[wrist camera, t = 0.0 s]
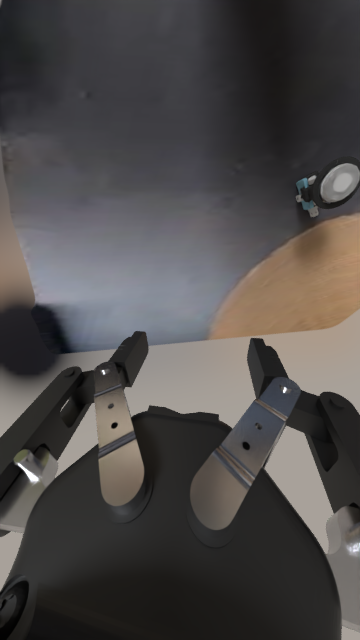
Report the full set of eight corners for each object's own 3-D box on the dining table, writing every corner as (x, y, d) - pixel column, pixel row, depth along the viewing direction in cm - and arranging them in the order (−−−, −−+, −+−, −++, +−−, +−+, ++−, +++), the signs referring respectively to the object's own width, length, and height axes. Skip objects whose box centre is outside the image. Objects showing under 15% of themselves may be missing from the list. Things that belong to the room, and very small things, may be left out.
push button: (328, 206, 30) (373, 201, 22) (295, 225, 32) (324, 226, 24) (319, 165, 28) (365, 141, 20) (284, 188, 30) (312, 175, 22)
